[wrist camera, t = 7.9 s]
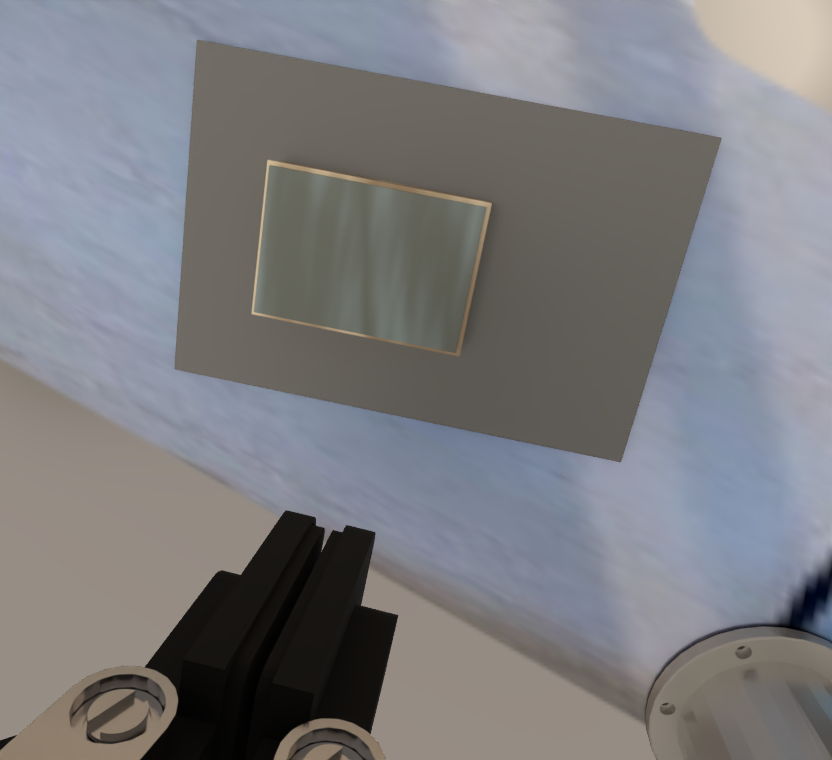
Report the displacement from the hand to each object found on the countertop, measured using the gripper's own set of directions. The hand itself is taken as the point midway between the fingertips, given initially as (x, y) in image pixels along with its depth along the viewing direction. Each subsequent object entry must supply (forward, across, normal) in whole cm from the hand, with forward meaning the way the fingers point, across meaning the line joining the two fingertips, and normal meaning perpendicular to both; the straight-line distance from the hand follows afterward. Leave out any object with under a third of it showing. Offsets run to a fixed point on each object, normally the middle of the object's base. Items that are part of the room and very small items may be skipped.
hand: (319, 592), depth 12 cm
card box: (+20, -1, -4) cm, 21 cm away
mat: (+22, +1, -4) cm, 23 cm away
